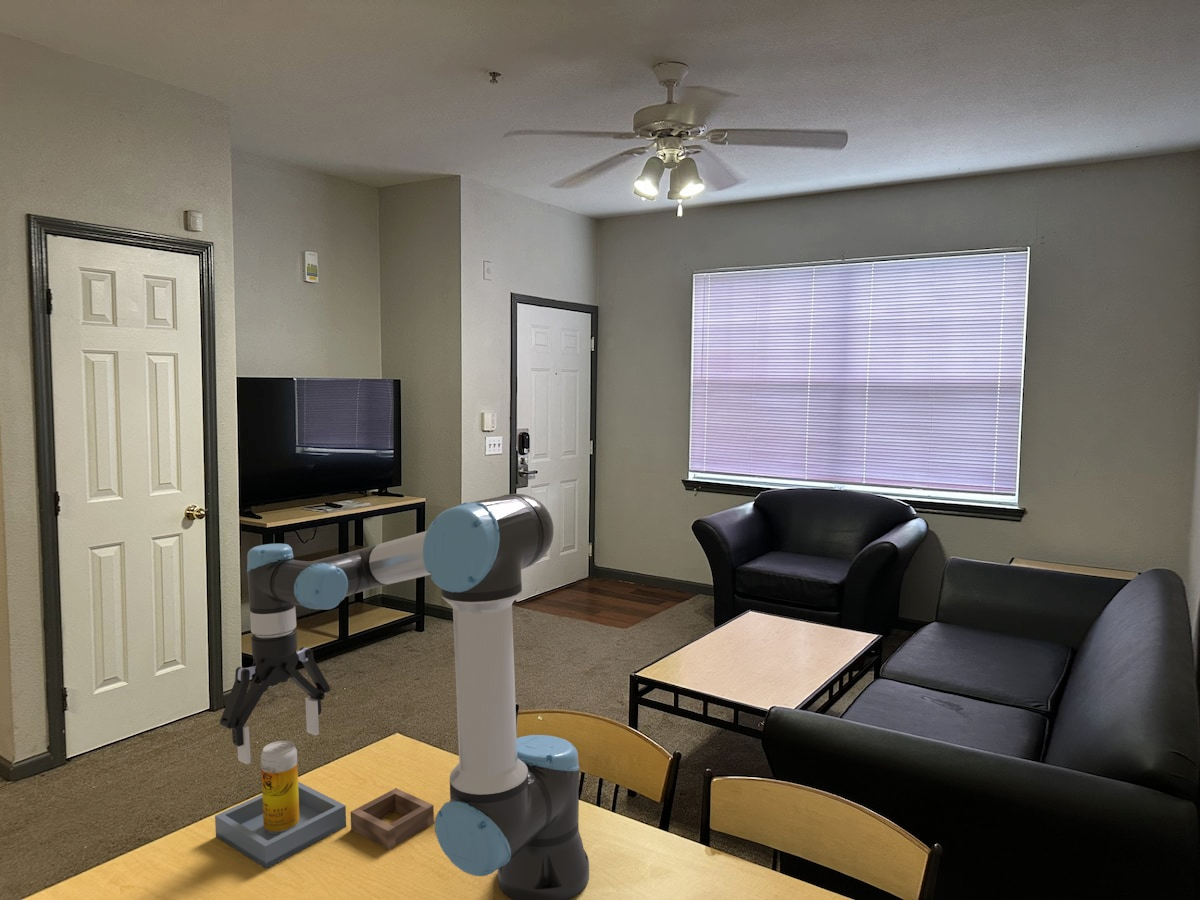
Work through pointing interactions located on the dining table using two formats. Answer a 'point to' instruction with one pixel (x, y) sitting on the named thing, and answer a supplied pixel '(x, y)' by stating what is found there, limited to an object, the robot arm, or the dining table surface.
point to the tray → (268, 849)
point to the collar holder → (393, 834)
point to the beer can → (280, 786)
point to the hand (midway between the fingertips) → (280, 747)
